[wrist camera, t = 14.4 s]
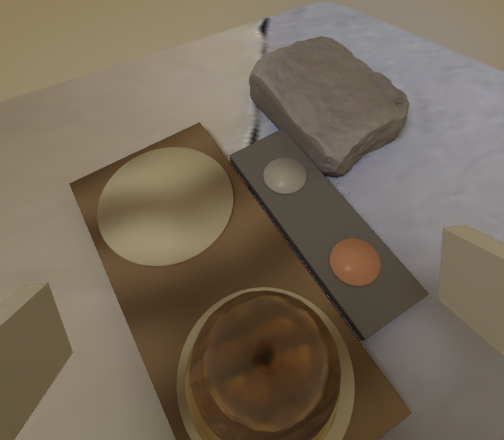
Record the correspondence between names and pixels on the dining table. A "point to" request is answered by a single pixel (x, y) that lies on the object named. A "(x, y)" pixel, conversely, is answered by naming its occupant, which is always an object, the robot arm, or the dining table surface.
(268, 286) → the board
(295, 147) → the pattern card
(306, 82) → the stone block
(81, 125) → the dining table surface
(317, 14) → the dining table surface
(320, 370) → the hand bell
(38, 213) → the dining table surface
